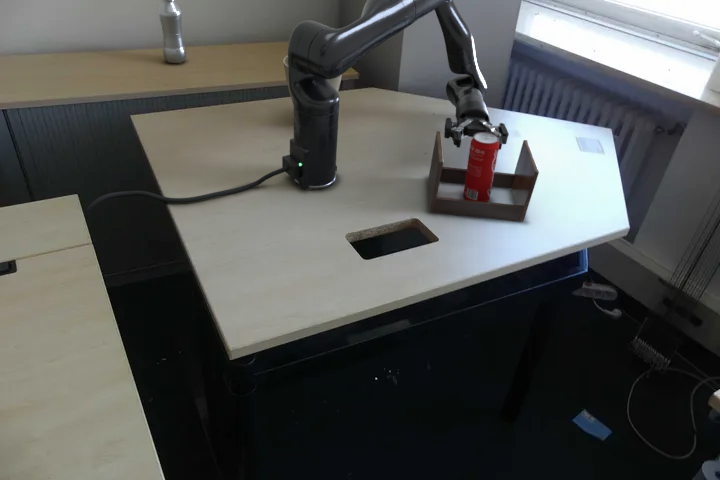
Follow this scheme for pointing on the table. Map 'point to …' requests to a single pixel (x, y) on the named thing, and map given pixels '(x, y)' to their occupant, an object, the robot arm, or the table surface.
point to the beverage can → (481, 167)
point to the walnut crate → (517, 182)
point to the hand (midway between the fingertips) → (478, 145)
